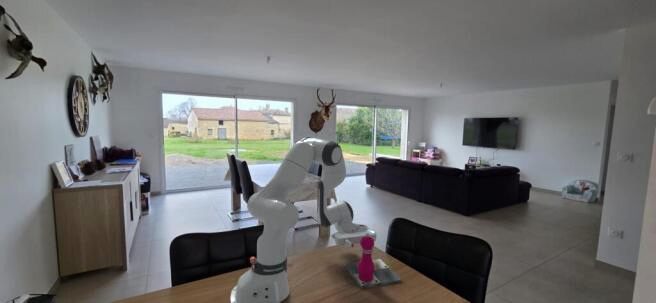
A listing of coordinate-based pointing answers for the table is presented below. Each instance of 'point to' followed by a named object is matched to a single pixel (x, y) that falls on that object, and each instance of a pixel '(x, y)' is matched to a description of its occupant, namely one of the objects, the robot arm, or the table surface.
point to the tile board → (374, 274)
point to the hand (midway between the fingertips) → (361, 244)
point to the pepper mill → (366, 259)
